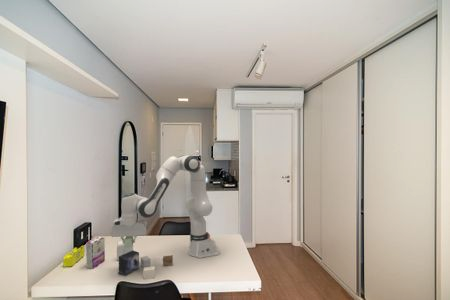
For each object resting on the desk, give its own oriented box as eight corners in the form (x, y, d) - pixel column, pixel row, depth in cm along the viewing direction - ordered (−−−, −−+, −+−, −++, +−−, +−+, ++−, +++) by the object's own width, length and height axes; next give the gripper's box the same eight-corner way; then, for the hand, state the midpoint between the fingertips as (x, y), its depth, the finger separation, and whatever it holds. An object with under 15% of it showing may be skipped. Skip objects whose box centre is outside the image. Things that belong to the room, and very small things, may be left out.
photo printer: (132, 255, 166) (132, 238, 165) (133, 257, 162) (133, 240, 162) (116, 259, 160) (116, 241, 160) (117, 261, 156) (117, 243, 156)
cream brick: (144, 275, 139) (144, 267, 139) (154, 274, 141) (154, 266, 141) (143, 279, 136) (143, 270, 135) (154, 278, 137) (154, 269, 137)
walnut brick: (163, 263, 154) (163, 256, 154) (172, 262, 155) (172, 255, 155) (162, 266, 150) (162, 258, 150) (172, 265, 151) (172, 258, 151)
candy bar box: (98, 260, 159) (98, 235, 159) (105, 260, 158) (104, 236, 158) (85, 268, 148) (85, 242, 148) (92, 269, 147) (92, 243, 147)
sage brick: (133, 243, 147) (133, 235, 147) (131, 247, 141) (131, 239, 141) (126, 243, 147) (126, 235, 147) (124, 247, 141) (124, 239, 141)
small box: (125, 276, 138) (125, 259, 138) (117, 273, 141) (117, 256, 141) (139, 268, 147) (139, 252, 147) (132, 266, 151) (132, 249, 151)
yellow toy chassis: (72, 267, 149) (72, 254, 149) (62, 267, 149) (62, 254, 149) (85, 256, 165) (85, 244, 165) (76, 256, 165) (76, 244, 164)
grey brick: (146, 263, 155) (146, 255, 155) (150, 266, 150) (150, 258, 150) (140, 265, 152) (140, 257, 152) (144, 268, 147) (144, 260, 147)
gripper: (147, 218, 149) (147, 239, 149) (112, 219, 145) (112, 241, 145) (146, 221, 143) (145, 243, 143) (109, 222, 139) (109, 246, 139)
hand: (128, 242), depth 144 cm, fingers closed on sage brick, 4 cm apart
